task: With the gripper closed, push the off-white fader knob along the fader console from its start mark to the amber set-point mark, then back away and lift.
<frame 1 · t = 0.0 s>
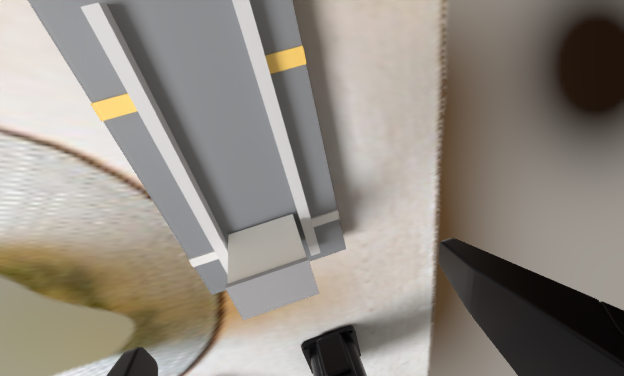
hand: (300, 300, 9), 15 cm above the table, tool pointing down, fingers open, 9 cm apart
fader console: (234, 148, 21), on the table
fader knob: (270, 262, 21), point 5 cm above the table, slide at 0.0 cm
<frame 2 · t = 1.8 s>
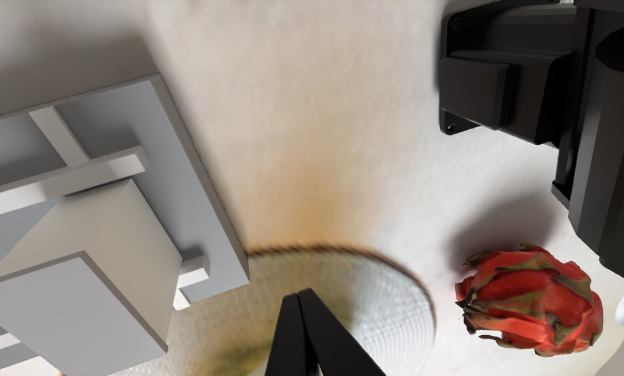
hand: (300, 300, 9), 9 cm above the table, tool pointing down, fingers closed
fader console: (4, 249, 15), on the table
fader knob: (108, 271, 12), point 5 cm above the table, slide at 0.0 cm
dragon fruit: (486, 266, 27), on the table
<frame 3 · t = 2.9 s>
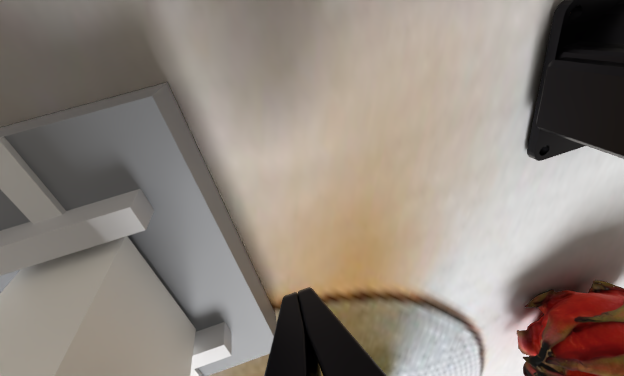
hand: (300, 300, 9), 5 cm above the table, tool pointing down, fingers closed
dragon fruit: (548, 305, 22), on the table
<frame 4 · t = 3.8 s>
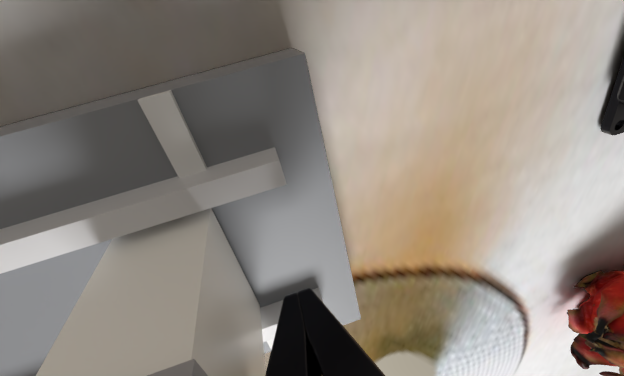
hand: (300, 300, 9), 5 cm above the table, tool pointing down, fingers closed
fader console: (66, 280, 12), on the table
fader knob: (186, 345, 8), point 5 cm above the table, slide at 1.5 cm, touching gripper
dragon fruit: (593, 287, 23), on the table
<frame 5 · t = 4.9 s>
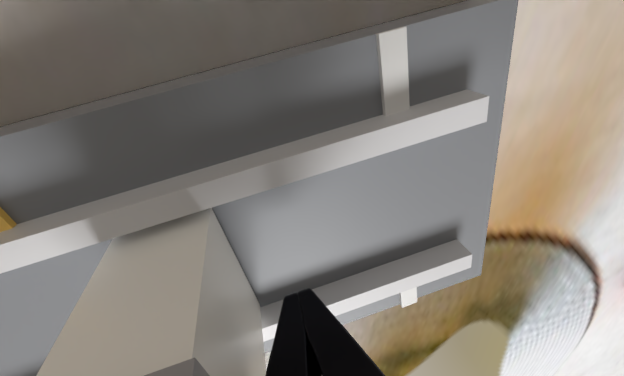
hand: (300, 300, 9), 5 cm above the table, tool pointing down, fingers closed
fader console: (223, 229, 12), on the table
fader knob: (187, 344, 8), point 5 cm above the table, slide at 7.9 cm, touching gripper
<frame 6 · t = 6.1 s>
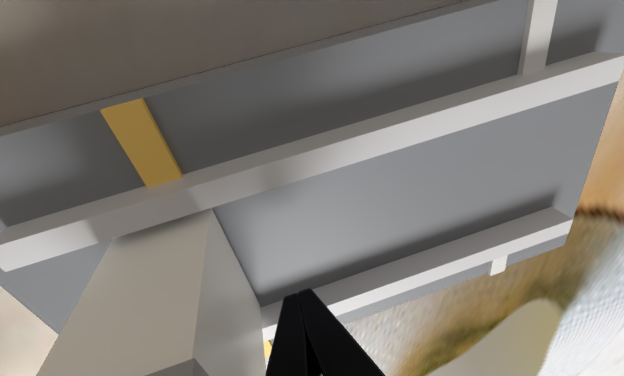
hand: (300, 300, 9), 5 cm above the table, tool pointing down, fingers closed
fader console: (330, 195, 13), on the table
fader knob: (187, 345, 8), point 5 cm above the table, slide at 12.6 cm, touching gripper
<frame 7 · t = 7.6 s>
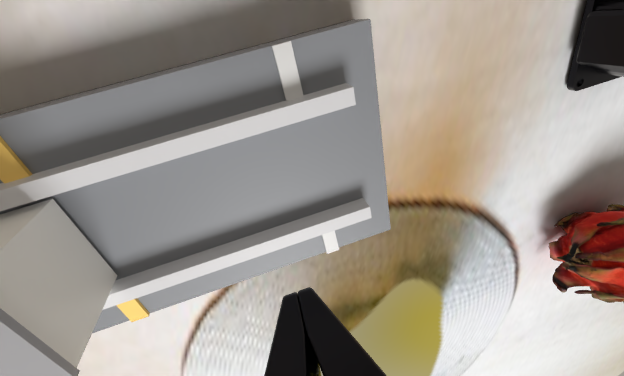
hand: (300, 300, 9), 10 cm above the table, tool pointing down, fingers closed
fader console: (184, 190, 16), on the table
fader knob: (22, 294, 12), point 5 cm above the table, slide at 12.9 cm
dragon fruit: (570, 229, 28), on the table
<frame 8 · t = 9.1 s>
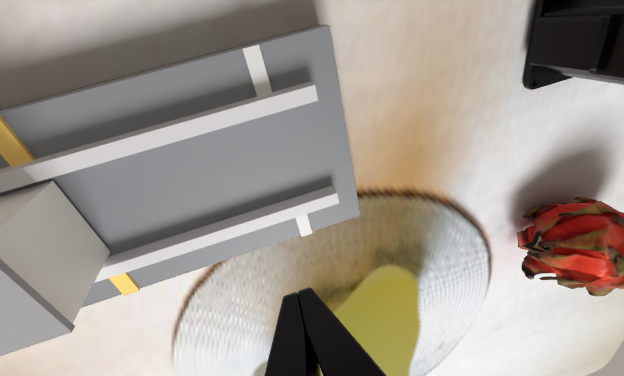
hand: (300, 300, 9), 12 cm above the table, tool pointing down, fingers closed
fader console: (170, 177, 18), on the table
fader knob: (26, 261, 14), point 5 cm above the table, slide at 12.9 cm
dragon fruit: (540, 221, 29), on the table
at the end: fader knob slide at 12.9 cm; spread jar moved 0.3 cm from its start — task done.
